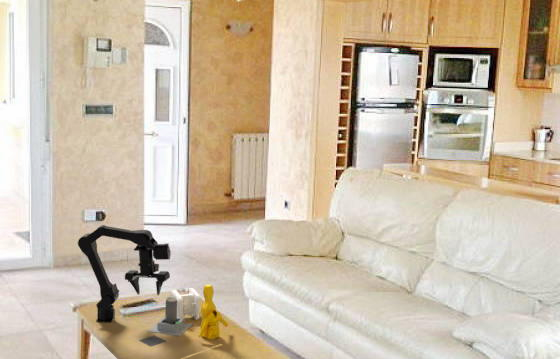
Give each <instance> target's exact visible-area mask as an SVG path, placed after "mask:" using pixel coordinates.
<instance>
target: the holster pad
mask: <svg viewBox="0 0 560 359" xmlns="http://www.w3.org/2000/svg"><path fill="white" fill-rule="evenodd" d="M138 341H139V342H140V343H143V344H145V345H147V346H149V347H155V346H156V345H160V344H162V343H163V344H164V343H166V342H167V340H165V339H164V338H161V337H159V336H157V335H152V336H148V337H144V338H143V339H139V340H138Z"/></svg>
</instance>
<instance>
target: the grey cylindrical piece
mask: <svg viewBox="0 0 560 359" xmlns="http://www.w3.org/2000/svg"><path fill="white" fill-rule="evenodd" d="M164 312H165V316H164V317H165V323H169V324H175V323H176V322H177V300H176V297H171V296H168V297H166V300H165V311H164Z"/></svg>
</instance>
